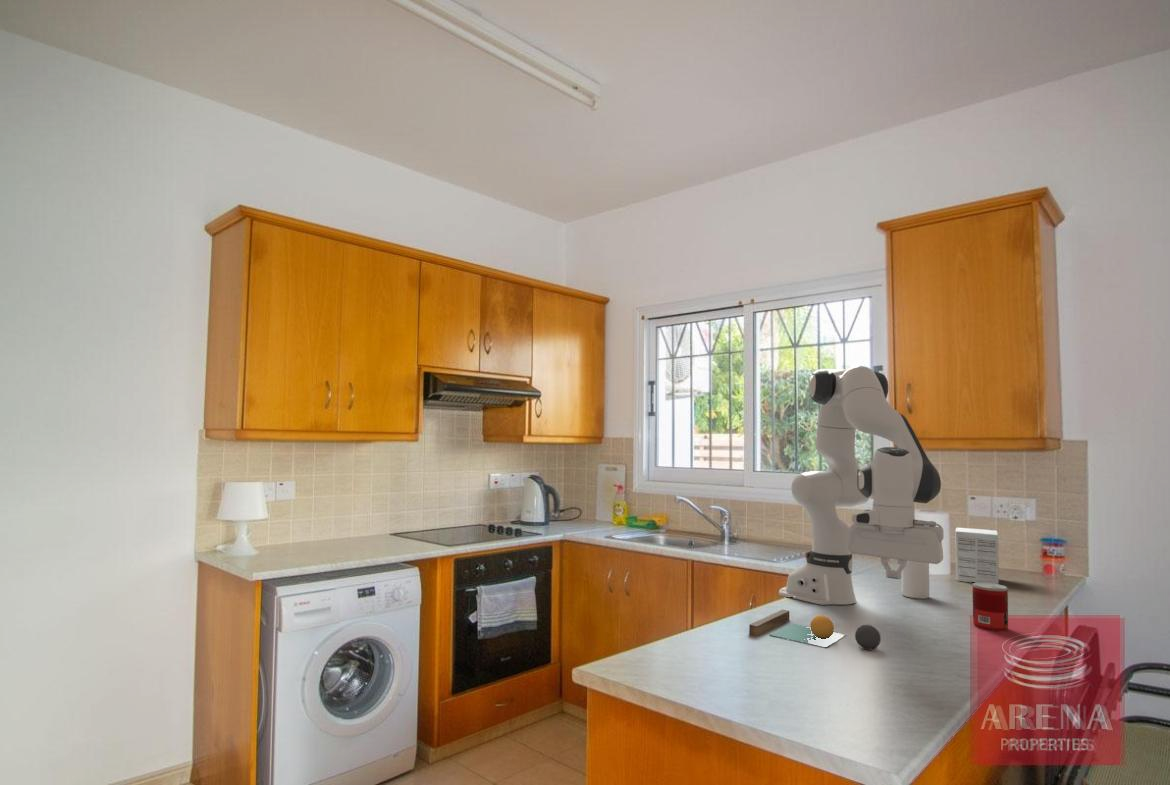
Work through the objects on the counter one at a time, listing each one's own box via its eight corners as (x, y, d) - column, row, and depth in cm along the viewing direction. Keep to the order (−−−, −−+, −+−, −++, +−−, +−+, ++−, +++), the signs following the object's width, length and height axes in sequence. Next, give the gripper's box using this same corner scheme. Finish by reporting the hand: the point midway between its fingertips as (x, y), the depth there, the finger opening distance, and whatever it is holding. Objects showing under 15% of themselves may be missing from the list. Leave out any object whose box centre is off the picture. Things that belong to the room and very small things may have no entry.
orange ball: (832, 637, 159) (812, 643, 162) (841, 633, 163) (821, 638, 166) (823, 614, 161) (803, 620, 164) (831, 610, 165) (812, 616, 168)
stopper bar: (749, 634, 165) (749, 624, 165) (782, 618, 180) (782, 609, 181) (756, 636, 164) (756, 626, 164) (789, 620, 179) (789, 610, 179)
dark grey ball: (882, 641, 152) (869, 658, 154) (887, 632, 156) (874, 649, 158) (861, 624, 154) (848, 641, 156) (866, 616, 159) (853, 633, 161)
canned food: (1013, 632, 173) (1012, 589, 173) (979, 630, 174) (978, 587, 175) (1001, 624, 180) (1000, 583, 181) (968, 622, 182) (968, 581, 182)
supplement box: (956, 574, 247) (955, 526, 248) (998, 579, 241) (997, 530, 242) (955, 580, 236) (954, 530, 237) (999, 586, 229) (998, 534, 230)
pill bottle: (927, 594, 213) (926, 547, 214) (931, 600, 206) (930, 551, 207) (899, 592, 216) (899, 545, 217) (903, 597, 208) (902, 549, 209)
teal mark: (769, 635, 165) (769, 634, 165) (792, 624, 176) (792, 623, 176) (826, 648, 156) (826, 647, 156) (846, 635, 167) (846, 634, 167)
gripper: (946, 521, 151) (947, 583, 150) (853, 512, 164) (853, 569, 163) (940, 523, 146) (940, 587, 145) (844, 514, 159) (844, 573, 158)
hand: (893, 578), depth 154 cm, fingers closed
